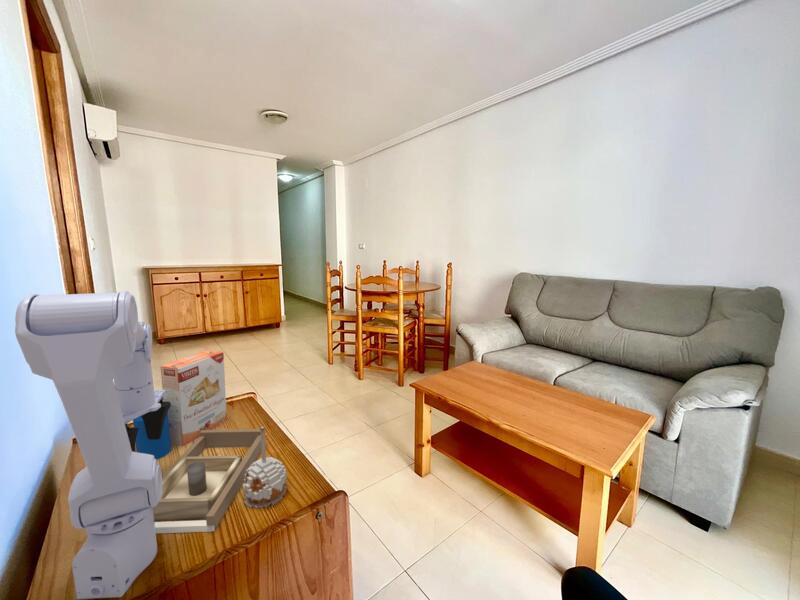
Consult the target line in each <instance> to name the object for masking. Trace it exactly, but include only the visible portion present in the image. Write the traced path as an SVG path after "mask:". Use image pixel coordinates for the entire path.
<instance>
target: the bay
mask: <svg viewBox="0 0 800 600" xmlns="http://www.w3.org/2000/svg"><path fill="white" fill-rule="evenodd" d="M199 435H200V436H199V437H198V438H196V439H195V440H194V442H193V443H192V444H191V445H190V446H189V447H188V448H187V449H186V450H185V451H184V452H183V453H182V454H181V455H180V456H179V458H177V460H175V462H174V463H173V464H172V465H171V466H170V467H169V468H168V469H167V470H166V471H165V472H164V473H162V474H163V475H162V480H163V479H164V478H165V477H166V476H167V475H168V474H169V473H170V472H171V471H172V469H173V468H174V467H175V466H176V465H177V464H178V463H179V462H180V461H181V460H182V459H183V458H184V457H196V456H201V454H202V453H203V452H204V450H205V449H206V448H243V447H244V448H249V449H248V450H247V452H246V454H245V455H244V457H242V461H241V463H240V464H239V466H238V468H237V469H236V471H235V472H234V474H233V475H232V477H231V478H230V480H229V481H228V483H227V485H226V486H225V488H224V489H223V491H222V492H221V494H220V495H219V497H218V499H217V500H216V502H215V503H214V505H213V506H212V508H211V509H210V511H209V512H208V514H207V516H206V519H197V520H178V521H177V520H173V521H172V520H169V521H154V523H155V532H156V535H157V534H175V533H176V534H179V533H182V534H183V533H184V534H185V533H205V532H206V533H208V532H215V531H216V530H217V527H218V526H219V525H220V523H221V521H222V519H223V517H224V516H225V514H226V512H227V511H228V509H229V507H230V506H231V504H232V502H233V500H235V499H234V498H235V497H236V495H237V493H238V492H239V490H240V489H241V486H243V484H244V479H245V474H246V470H247V469H248V468H249V467H250V466H251V464H253V463H254V462H255V461H257V460H258V457H259V456H260V455H261V454H260V453H262V452H261V433H260V428H240V429H239V428H238V429H237V428H235V429H229V428H228V429H227V428H226V429H210V430H201V431H200V432H199Z"/></svg>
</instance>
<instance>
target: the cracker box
mask: <svg viewBox="0 0 800 600" xmlns="http://www.w3.org/2000/svg"><path fill="white" fill-rule="evenodd" d="M224 359H225V357H224V351H220V350H219V351H218V350H211V349H209V350H208V349H207V350H203V351H200V352H198V353H195V354H191V355H188V356H185V357H182V358H179V359H176V360H174V361H170V362H167V363H164V364H161V365H160V377H161V388H162V389H161V390H166V397H167V398H166V399H165V400H163V402H170V404H171V406H170V408H169V410H168V419H169V430H170V440H171V445H175V446H176V445H177V446H181V447H185V446H187V445H188V444H190V443H191V442H193V441H195V440H197V439H198V438H199V437H200V435H199V432H200V431H201V430H213V429H214V428H215V427H217V426H219V425H221V424H222V423H223V422H225V421H226V420H228V419H227V418H228V417H227V400H226V399H227V398H226V397H227V395H226V377H225V360H224Z"/></svg>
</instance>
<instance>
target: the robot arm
mask: <svg viewBox="0 0 800 600" xmlns="http://www.w3.org/2000/svg"><path fill="white" fill-rule="evenodd" d="M138 315H139V314H138V306H137V300H136V298H135V295H134V294H131V292H129V291H128V290H121V291H120V292H119V291H118V292H99V293H98V292H95V293H73V294H71V293H70V294H66V293H65V294H45V295H41V294H32V293H31V294H28V295H25V297H24V298H23V299H22V300H21V301H20V302H19V303H18V305H17V307H16V311H15V318H14V319H15V325H14V326H15V329H14V333H15V337H16V340H17V342H18V346H19V348H20V349H21V352H22V355H23V356H24V359H25V362H26V364H28V366H29V368H30V371H31V373H32V374H34V375H37V376H40V377H43V378H46V379H49V380H52V382H53V384H54V387H55V388H56V391H57V393H58V396H59V398H60V399H61V400H60V401H61V403H62V405H63V407H64V408H63V409H64V411H65V413H66V415H67V418H68V421H69V424H70V426H71V429H72V432H73V435H74V437H75V439H76V442H77V445H78V447H79V450H80V453H81V455H82V458H83V460H84V463H85V467H84V468H82V469H81V470H80V471H78V472H77V473H76V475H75V477H74V479H73V481H72V482H71V485H70V488H69V492H68V498H67V503H68V506H69V519H70V522H71V523H70V524H71V525H72V526H73V527H74V528H75V529H77V530H82V529H84V531H85V536H87V538H86V541H85V542H84V544H83V545H82V547H81V548H80V549H79V551H78V552H77V553H76V554H75V556H74V558H73V559H72V563H71V570H72V575H73V583H74V589H75V595H76V600H86V599H87V600H88V599H107V598H112V599H113V598H121V597H122V598H123V596H124V595H125V593H126V592H127V591H128V589H129V588H130V586H131V585H132V584H133V582H134V581H135V580H136V579H137V577H138V576H139V575H140V574H141V573H143V571H144V570H146V568H147V567H149V566H150V565H151V564H152V562H153V561H154V559H155V558H156V555H157V553H158V543H157V534H156V532H155V523H154V522H155V520H154V514H153V507H155V506H157V504H158V503H159V502H160V500H161V496H162V474H163V473H162V467H161V465H160V464H159V463H158V459H157V460H156V459H155V458H154V455H150V454H144V453H137V452H136V443H135V441H136V436H137V433H138V430H139V428H134V427H130V425H128V424H129V423H130V422H133V419H135V418H137V417H139V416H141V417H142V419H143V422H144V425H145V429H146V434H147V437H148V439H149V440H158V439H160V438H161V434H162V429H163V424H164V420H165V417H166V414H167V412H168V410H169V408H170V406H171V404H170V402H163V400H165V399H166V398H167V397H166V390H162V389H156V390H155V388H154V387H155V386H154V378H153V369H152V360H151V359H152V357H153V349H152V347H153V331H152V327H151V325H150V323H148V324H146V323H145V322H144V321H139V316H138Z"/></svg>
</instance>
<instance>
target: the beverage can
mask: <svg viewBox="0 0 800 600" xmlns="http://www.w3.org/2000/svg"><path fill="white" fill-rule="evenodd" d="M132 423H133V428H139V430H138V433H137V436H136V441H135V452H137V453H144V454H150V455H154V458H155V459H156V460H157V461H158V460H160V459H162V458H163V457H165V456H167V455H169V453H170V452H171V451H172V444H171V440H170V430H169V419H168V412H167V414H166V417H165V420H164V424H163V429H162V434H161V438H160V439H158V440H149V439H148V437H147V434H146V429H145V425H144V422H143V419H142V417H141V416H139V417H137V418H135V419H133V420H132Z"/></svg>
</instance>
